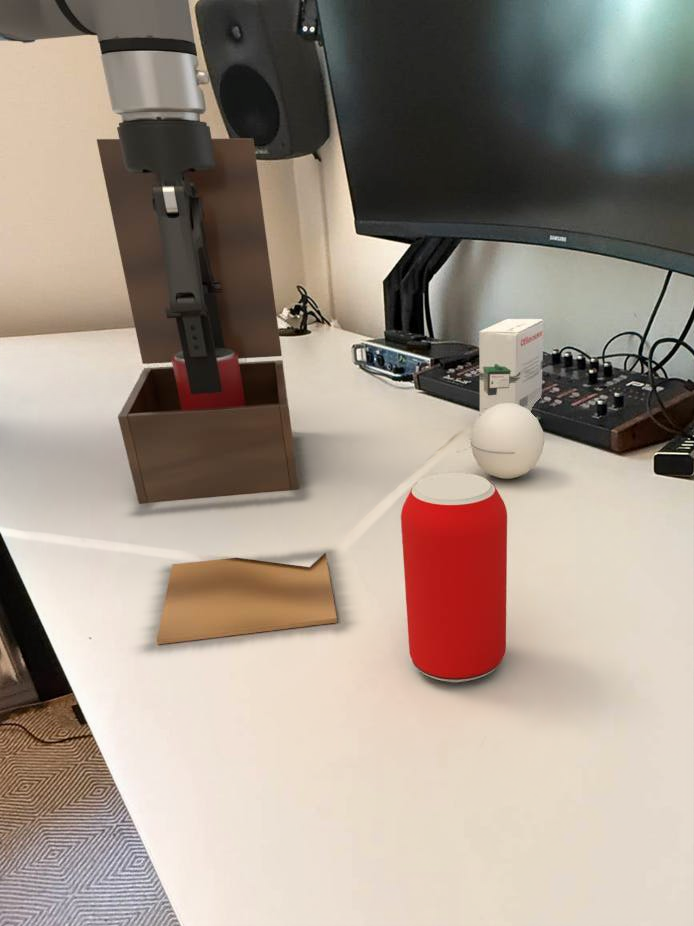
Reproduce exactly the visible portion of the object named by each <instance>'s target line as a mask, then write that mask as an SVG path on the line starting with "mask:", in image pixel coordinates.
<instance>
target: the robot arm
mask: <svg viewBox="0 0 694 926" xmlns="http://www.w3.org/2000/svg"><path fill="white" fill-rule="evenodd" d="M191 16H192V15H191V10H190V3H189V0H0V42H1V41H2V42H3V41H4V42H5V41H6V42H20V43H23V44H30V43H34V42H35V41H38V40H49V39H57V38H69V37H70V38H71V37H81V36H96V37H97V42H98V44H99V48H100V54H101V55H100V58H101V64H102V67H103V73H104V78H105V82H106V87H107V92H108V96H109V100H110V105H111V106H110V107H111V110H112V112H113V113H115V114H116V115H120V117H121V121H122V122H121V121H120V122H119V123H118V126H117V127H116V130H117V134H118V139H119V140H120V144H121V149H122V154H123V158H124V163H125V167H126V169H127V170H128V171H129V172H131V173H156V176H157V184H158V186H153V191H152V196H153V198H152V202H153V209H154V213H155V216H156V219H157V221H158V227H159V235H160V238H161V241H162V248H163V254H164V261H165V268H166V274H167V281H168V287H169V294H170V307H165V311H166V316H167V318H176V321H177V326H178V331H179V336H180V341H181V346H182V351H183V356H184V361H185V366H186V371H187V376H188V381H189V386H190V391H191V394H201V393H215V392H222V386H221V380H220V375H219V369H218V364H217V358H216V353H215V348H225V346H224V340H223V334H222V329H221V323H220V317H219V311H218V306H217V300H216V294H209V293H218V292H222V291H221V284H220V281H216V282H213V281H214V275H213V274H212V271H211V266H210V262H209V257H208V252H207V247H206V242H205V241H206V230H205V225H204V220H203V218H204V210H203V203H202V199H201V196H196V193H197V191H196V187H195V186H194V183H190V180H189V176H188V172H206V171H212V170H214V168H215V165H216V164H215V157H214V151H213V145H212V139H213V138H212V133H211V127H210V126H209V125H208V124H207V123H208V122H206V121H201V115H203V114H205V112H207V106H206V99H205V94H204V91H203V90H202V88H201V87H200V85H208V84H209V82H210V76H209V73H208V71H206V70H200V69H198V68H199V60H198V52H197V46H196V43H195V37H194V36H195V35H194V31H193V30H194V29H193V23H192V17H191Z"/></svg>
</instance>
